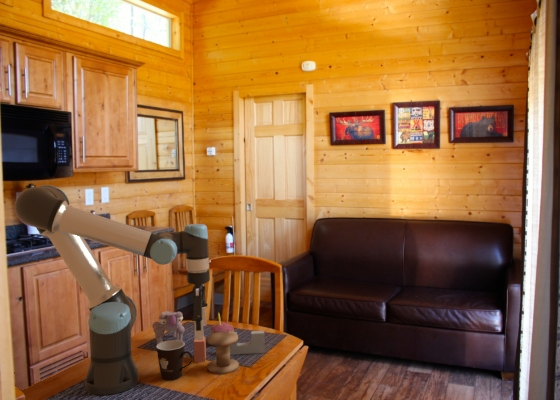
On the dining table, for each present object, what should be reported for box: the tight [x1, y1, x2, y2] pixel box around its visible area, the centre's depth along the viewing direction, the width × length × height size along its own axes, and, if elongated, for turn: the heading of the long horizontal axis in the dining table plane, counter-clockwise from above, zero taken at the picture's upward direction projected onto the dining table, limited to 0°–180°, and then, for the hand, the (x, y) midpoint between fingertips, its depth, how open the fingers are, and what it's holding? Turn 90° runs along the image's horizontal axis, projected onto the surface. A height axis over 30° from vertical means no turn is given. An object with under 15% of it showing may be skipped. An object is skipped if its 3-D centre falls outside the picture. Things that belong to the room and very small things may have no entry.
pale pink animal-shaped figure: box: [151, 310, 185, 345], centre depth 178 cm, size 20×11×14 cm, turn 24°
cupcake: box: [210, 311, 235, 335], centre depth 180 cm, size 9×8×12 cm
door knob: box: [206, 332, 240, 375], centre depth 158 cm, size 10×10×10 cm
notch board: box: [230, 330, 266, 356], centre depth 170 cm, size 14×2×7 cm, turn 95°
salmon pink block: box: [193, 335, 207, 363], centre depth 165 cm, size 4×5×7 cm
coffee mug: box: [156, 339, 194, 382], centre depth 150 cm, size 12×9×10 cm
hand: (200, 332), depth 165 cm, fingers open, 13 cm apart
